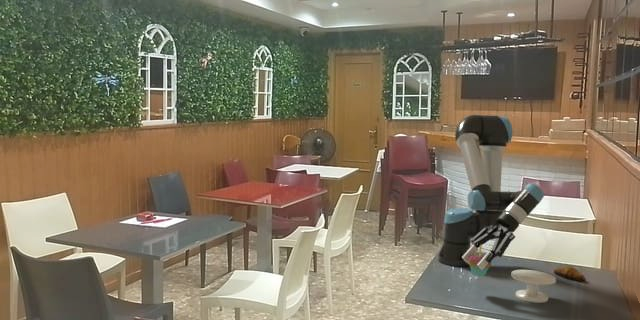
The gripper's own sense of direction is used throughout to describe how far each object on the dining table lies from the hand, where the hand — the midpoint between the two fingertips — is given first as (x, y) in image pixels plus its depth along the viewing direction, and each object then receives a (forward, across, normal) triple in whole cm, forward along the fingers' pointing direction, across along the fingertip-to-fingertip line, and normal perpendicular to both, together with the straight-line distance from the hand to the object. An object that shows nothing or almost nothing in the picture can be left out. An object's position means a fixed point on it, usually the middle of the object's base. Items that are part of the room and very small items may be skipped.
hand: (471, 263), depth 198 cm
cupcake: (+1, 0, -6) cm, 6 cm away
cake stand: (-6, -10, -22) cm, 25 cm away
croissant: (-29, +5, -46) cm, 55 cm away
